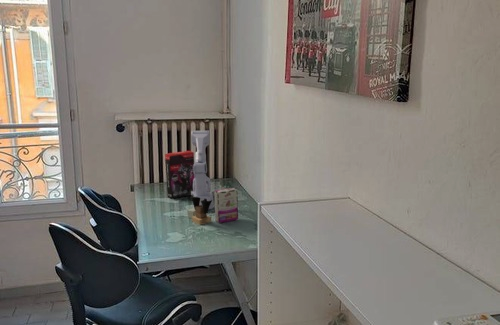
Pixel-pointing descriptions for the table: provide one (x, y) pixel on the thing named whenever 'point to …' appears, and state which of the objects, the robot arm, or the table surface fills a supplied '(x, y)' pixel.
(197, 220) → the oak slab
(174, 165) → the graphics card box
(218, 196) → the candy bar box
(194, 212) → the sage block
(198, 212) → the walnut block
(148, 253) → the table surface
